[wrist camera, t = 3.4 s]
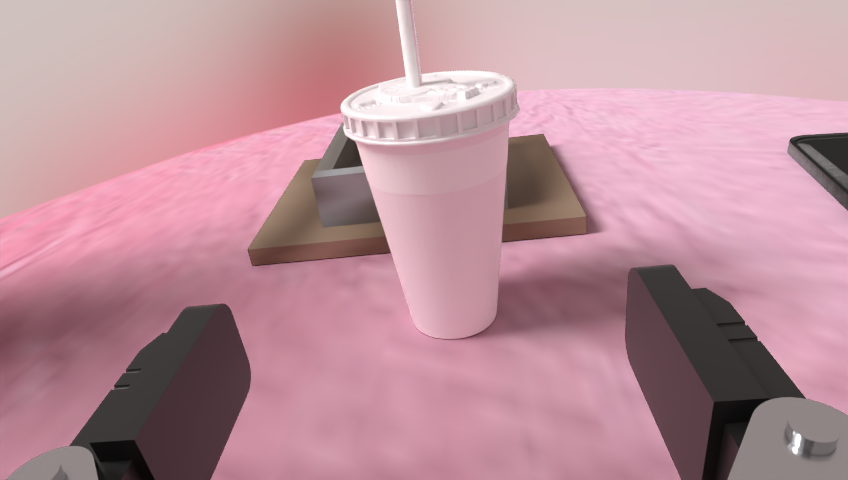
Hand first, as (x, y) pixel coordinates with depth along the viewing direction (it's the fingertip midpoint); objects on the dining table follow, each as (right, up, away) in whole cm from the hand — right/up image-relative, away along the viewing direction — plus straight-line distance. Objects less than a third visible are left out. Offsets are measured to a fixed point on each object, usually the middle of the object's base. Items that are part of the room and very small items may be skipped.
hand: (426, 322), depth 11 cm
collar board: (0, +4, +25) cm, 25 cm away
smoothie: (+1, -2, +13) cm, 13 cm away
